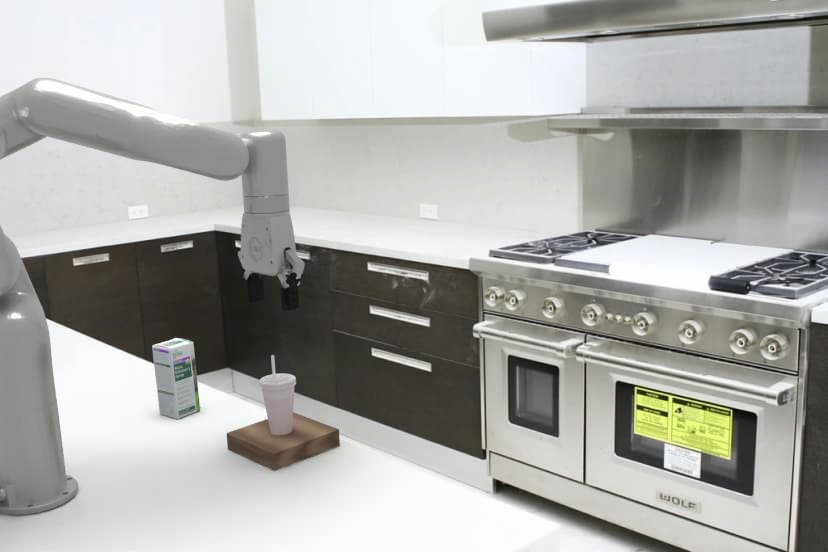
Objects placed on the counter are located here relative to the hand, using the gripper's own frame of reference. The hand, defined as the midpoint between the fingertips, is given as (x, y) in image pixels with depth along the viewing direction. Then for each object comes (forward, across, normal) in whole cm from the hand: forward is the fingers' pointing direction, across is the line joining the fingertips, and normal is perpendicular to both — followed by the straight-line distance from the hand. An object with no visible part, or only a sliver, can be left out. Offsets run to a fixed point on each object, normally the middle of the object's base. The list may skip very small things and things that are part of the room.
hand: (272, 305), depth 152 cm
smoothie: (+23, 0, 0) cm, 23 cm away
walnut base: (+26, 0, 0) cm, 26 cm away
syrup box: (+26, -30, -3) cm, 40 cm away
